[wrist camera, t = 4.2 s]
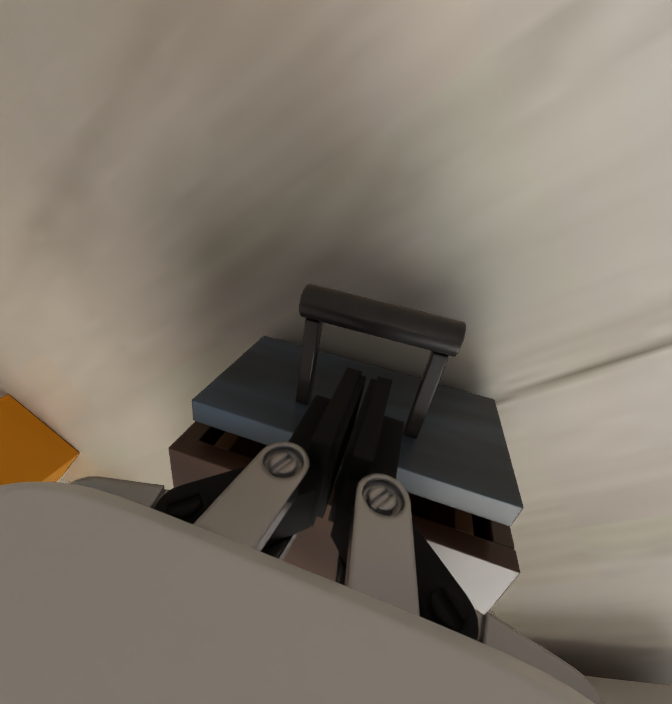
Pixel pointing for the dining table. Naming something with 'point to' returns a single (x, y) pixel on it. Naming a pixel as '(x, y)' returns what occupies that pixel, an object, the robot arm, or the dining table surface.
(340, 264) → the dining table surface
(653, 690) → the pizza boxes
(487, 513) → the drawer
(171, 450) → the cabinet
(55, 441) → the orange juice
